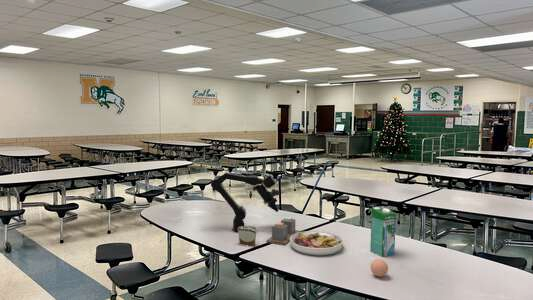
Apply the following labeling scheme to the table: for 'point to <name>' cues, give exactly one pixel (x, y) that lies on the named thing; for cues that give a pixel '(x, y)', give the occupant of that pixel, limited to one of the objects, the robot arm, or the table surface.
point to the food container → (247, 235)
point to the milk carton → (382, 231)
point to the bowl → (316, 242)
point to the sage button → (288, 219)
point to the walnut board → (282, 241)
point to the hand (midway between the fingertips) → (277, 211)
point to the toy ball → (379, 267)
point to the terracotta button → (279, 224)
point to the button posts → (283, 230)
